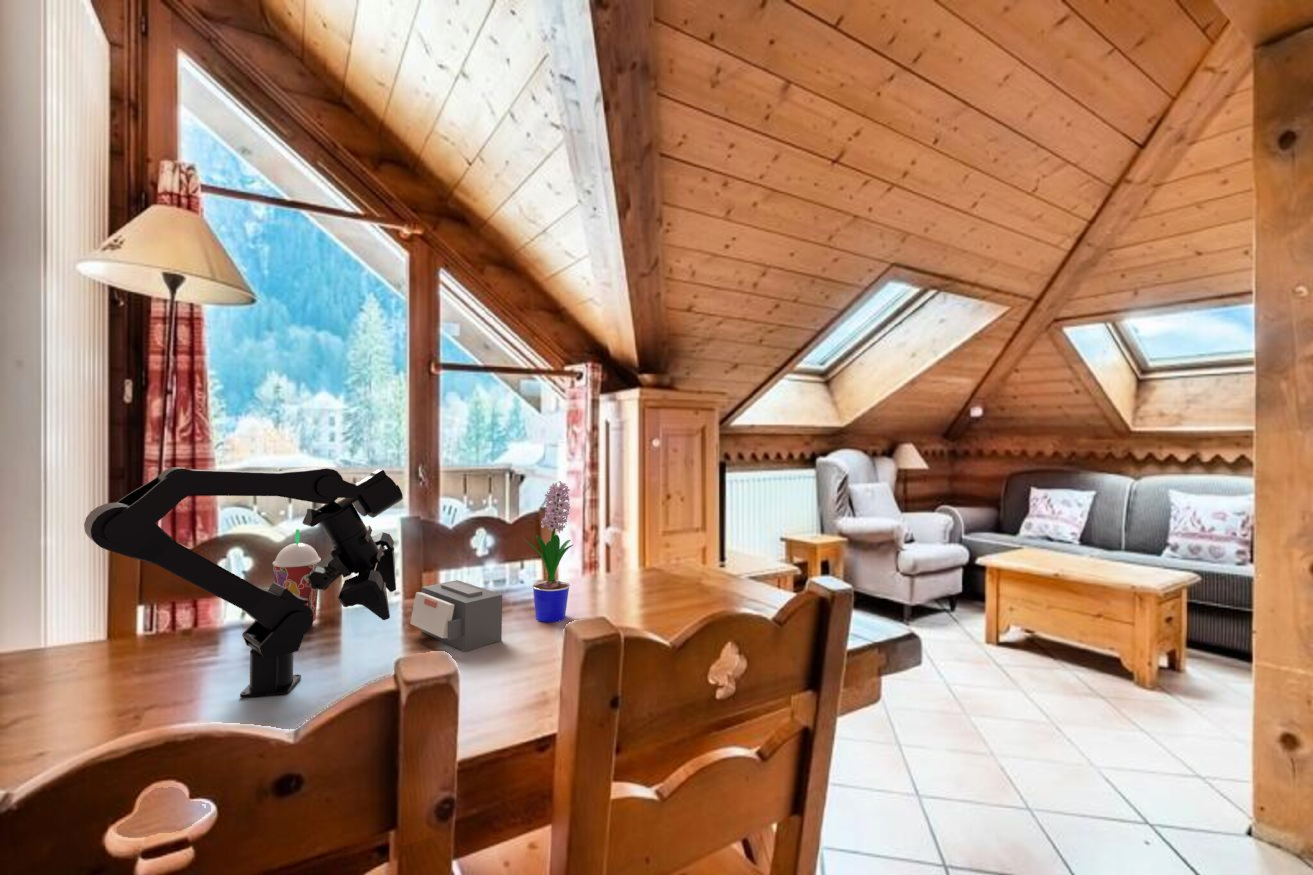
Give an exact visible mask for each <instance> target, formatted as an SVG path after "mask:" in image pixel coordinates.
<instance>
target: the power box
mask: <svg viewBox="0 0 1313 875" xmlns="http://www.w3.org/2000/svg"><path fill="white" fill-rule="evenodd" d="M421 592H422V593H425V594H427V595H430V596H433V597H435V598H438V599H441V600H443V601H446V602H449V603H451V604H454V611H453V616H452V621H448V638H441V637H439V636H436V635H434V634H432V633H430V632H428V631H425V630H423V629H421V628H420V632H422V634H425V635H428V636H430V637H432V638H434V639H436V640H438V641H441V642H443V643H445V644H447V645H449V646H451V647H454V648H456V649H458V650H460V651H463V652H469V651H471V650H475V649H478V648H481V647H485V646H489V645H492V644H494V643H497V642H498V643H499V642H502V639H503V638H502V637H503V636H502V634H503V633H502V632H503V631H502V630H503V629H502V628H503V625H502V624H503V593H502V594H501V593H498V592H495V591H492V590H490V589H488V588H487V589H486V588H483V587H479V586H477V585H475V584H474V585H473V584H471V583H467V582H464V581H461V580H459V579H457V580H451V581H446V582H441V583H435V584H431V585H424V586H422V587H421ZM413 606H414V605H412V606H411V612H412V611H413Z"/></svg>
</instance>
